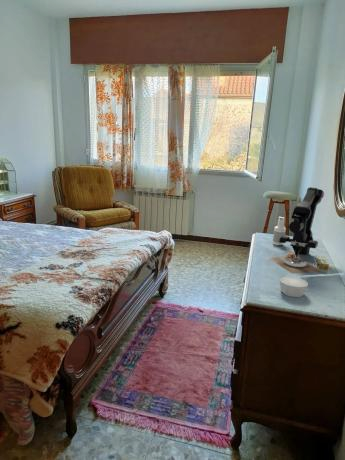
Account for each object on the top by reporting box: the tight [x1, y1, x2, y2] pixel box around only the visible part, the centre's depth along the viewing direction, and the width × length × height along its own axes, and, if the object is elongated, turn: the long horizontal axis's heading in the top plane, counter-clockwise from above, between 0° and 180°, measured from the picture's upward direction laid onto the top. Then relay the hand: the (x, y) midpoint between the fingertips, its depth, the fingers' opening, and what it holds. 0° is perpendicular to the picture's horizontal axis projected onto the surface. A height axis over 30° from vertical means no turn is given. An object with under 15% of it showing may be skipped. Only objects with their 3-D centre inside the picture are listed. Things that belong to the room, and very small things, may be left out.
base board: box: [269, 256, 324, 274], centre depth 169 cm, size 18×22×1 cm
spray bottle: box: [272, 216, 287, 246], centre depth 203 cm, size 7×7×18 cm
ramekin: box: [279, 276, 309, 298], centre depth 138 cm, size 11×11×5 cm
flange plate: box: [284, 251, 307, 268], centre depth 170 cm, size 14×11×4 cm
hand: (296, 257), depth 174 cm, fingers closed
